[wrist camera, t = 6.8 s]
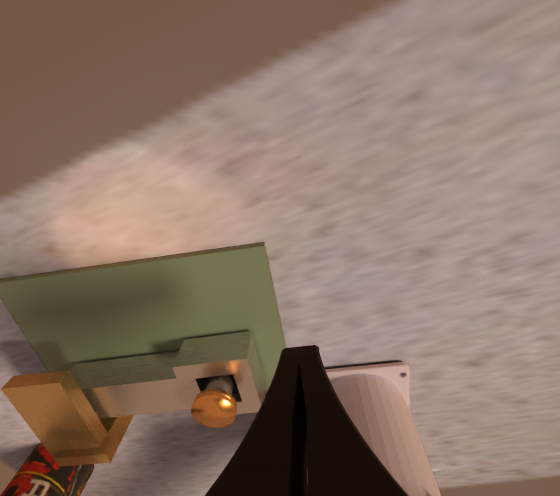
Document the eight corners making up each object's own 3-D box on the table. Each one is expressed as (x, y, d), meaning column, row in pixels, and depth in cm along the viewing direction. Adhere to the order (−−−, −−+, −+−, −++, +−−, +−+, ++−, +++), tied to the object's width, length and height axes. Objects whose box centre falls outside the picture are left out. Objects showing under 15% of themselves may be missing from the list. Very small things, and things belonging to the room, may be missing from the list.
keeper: (136, 409, 27) (110, 462, 23) (92, 413, 27) (59, 466, 23) (97, 335, 23) (59, 382, 20) (48, 341, 24) (0, 388, 20)
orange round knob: (248, 370, 24) (240, 425, 20) (213, 373, 25) (198, 429, 21) (241, 342, 23) (230, 395, 19) (204, 346, 24) (185, 399, 19)
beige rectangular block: (251, 331, 22) (246, 358, 20) (265, 381, 25) (262, 411, 22) (70, 354, 24) (46, 382, 22) (98, 399, 26) (79, 429, 24)
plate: (293, 382, 26) (293, 388, 25) (76, 402, 28) (72, 408, 27) (264, 242, 20) (263, 246, 20) (-2, 279, 22) (-9, 284, 22)
